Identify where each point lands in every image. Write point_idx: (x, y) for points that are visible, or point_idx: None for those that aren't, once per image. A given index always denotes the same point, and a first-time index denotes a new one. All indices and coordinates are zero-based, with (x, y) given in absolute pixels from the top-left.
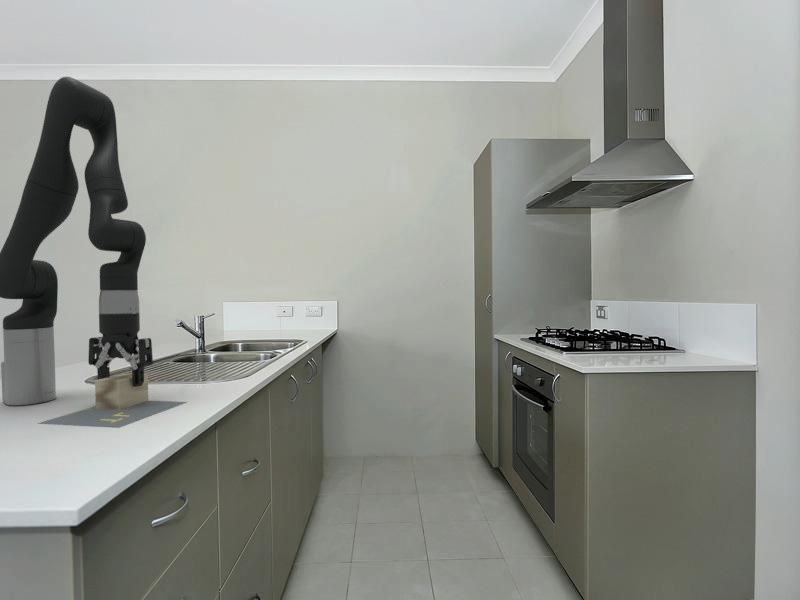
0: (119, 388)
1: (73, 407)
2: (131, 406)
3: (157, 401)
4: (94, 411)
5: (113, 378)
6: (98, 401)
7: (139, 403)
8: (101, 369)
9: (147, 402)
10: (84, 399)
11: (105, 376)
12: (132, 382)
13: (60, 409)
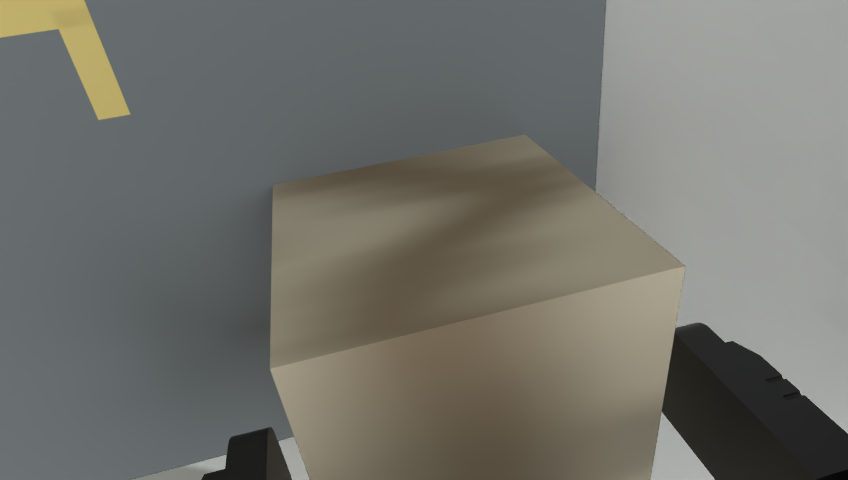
0: (273, 300)
1: (785, 157)
2: None
3: None
4: (447, 59)
5: (537, 419)
6: (522, 164)
7: None
8: (803, 471)
9: None
10: (841, 304)
11: (712, 425)
12: (265, 463)
13: (842, 86)
